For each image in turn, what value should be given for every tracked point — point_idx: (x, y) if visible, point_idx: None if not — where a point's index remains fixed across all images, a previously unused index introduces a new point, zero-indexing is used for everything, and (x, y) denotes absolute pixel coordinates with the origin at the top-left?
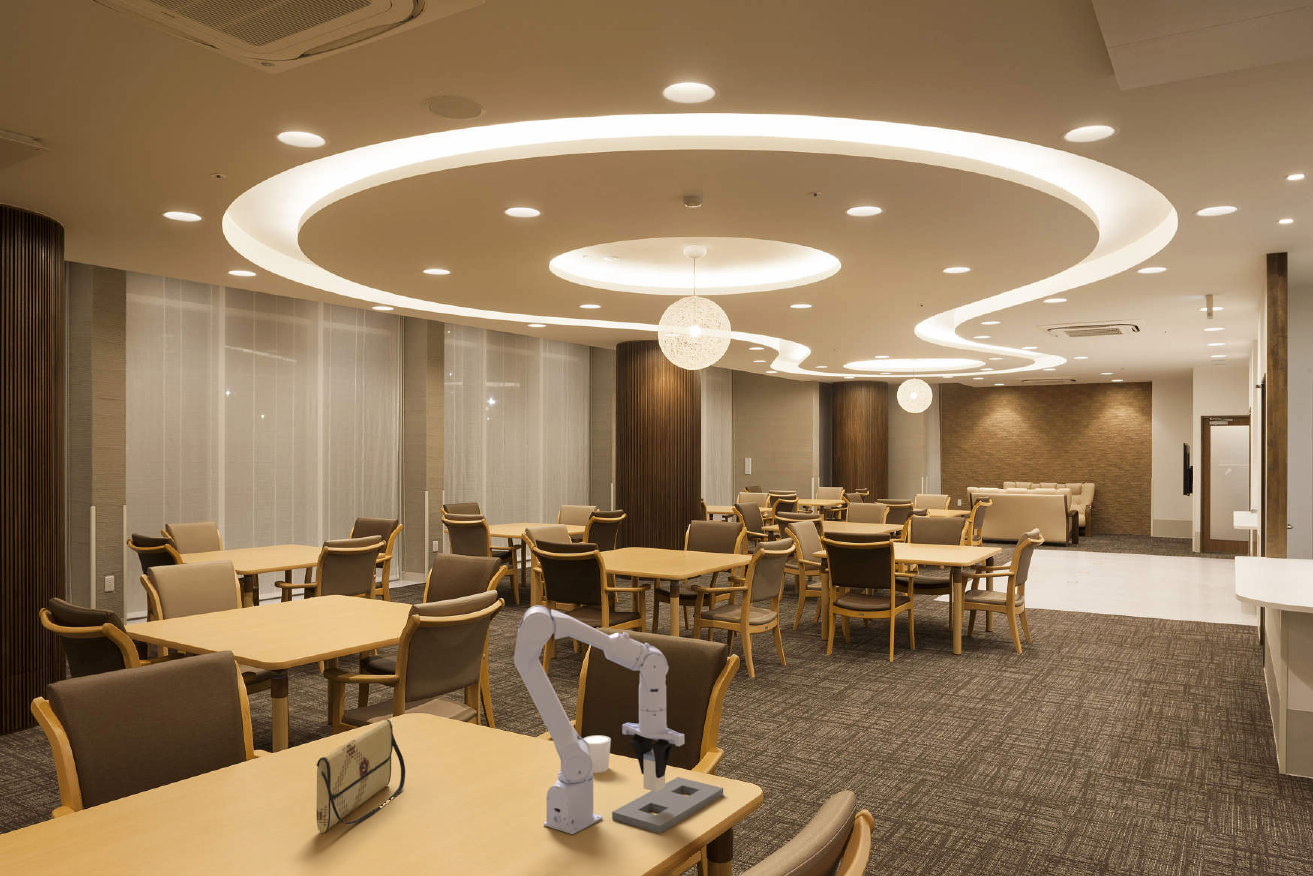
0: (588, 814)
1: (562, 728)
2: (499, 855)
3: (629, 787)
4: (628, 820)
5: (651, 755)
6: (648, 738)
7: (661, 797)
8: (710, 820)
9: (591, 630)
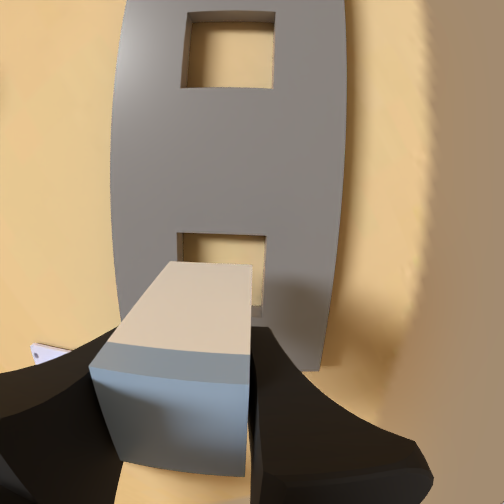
0: None
1: None
2: (118, 499)
3: (25, 111)
4: None
5: (190, 468)
6: (45, 493)
7: (181, 161)
8: (409, 190)
9: None
